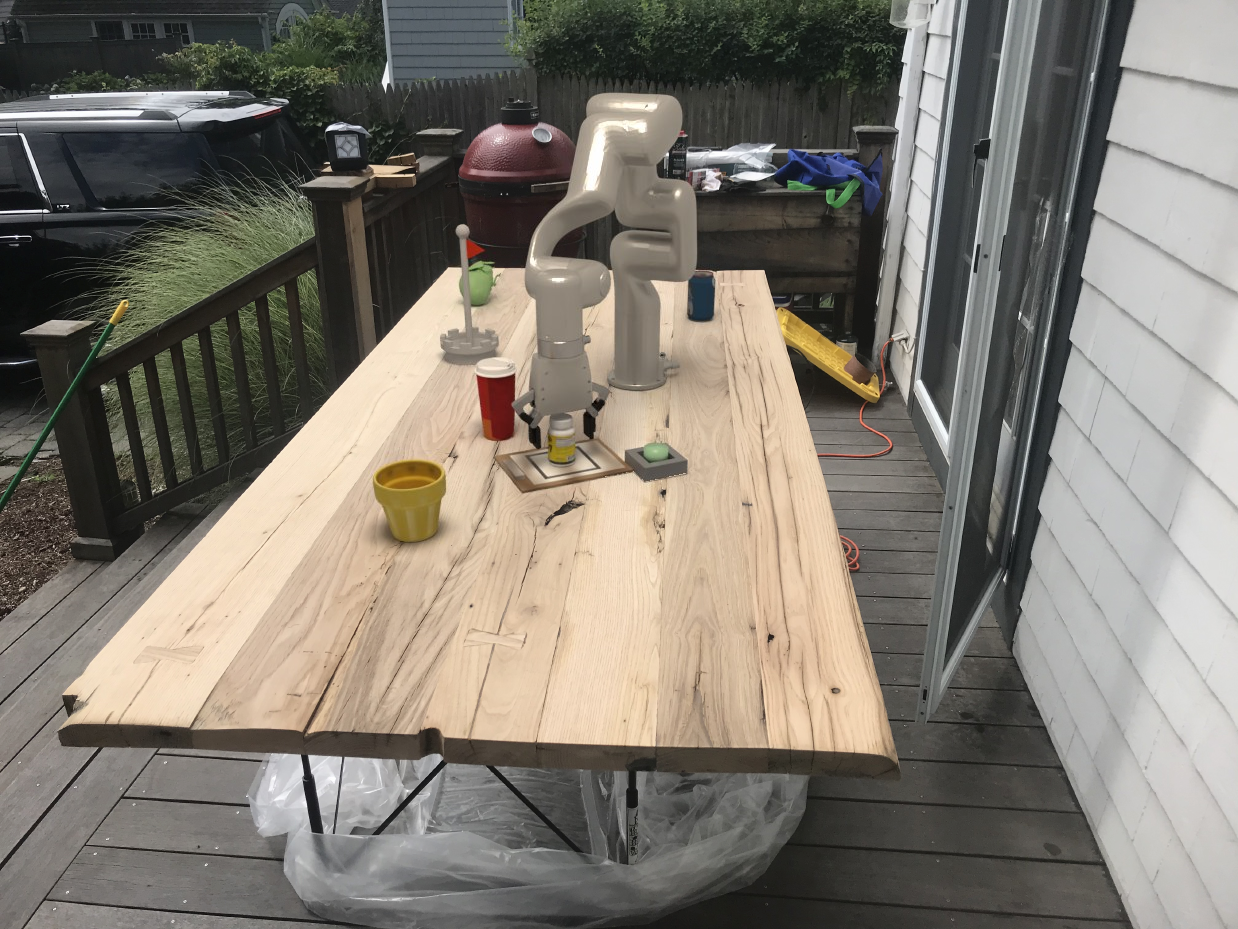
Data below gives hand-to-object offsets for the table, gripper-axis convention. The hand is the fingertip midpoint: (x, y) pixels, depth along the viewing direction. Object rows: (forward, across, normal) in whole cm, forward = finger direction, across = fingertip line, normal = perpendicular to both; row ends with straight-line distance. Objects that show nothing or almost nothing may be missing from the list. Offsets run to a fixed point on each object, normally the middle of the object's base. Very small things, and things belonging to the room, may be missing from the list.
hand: (562, 441), depth 163 cm
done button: (+3, -14, +8) cm, 16 cm away
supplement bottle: (+4, 0, 0) cm, 4 cm away
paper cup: (+5, +6, -17) cm, 18 cm away
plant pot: (+4, +29, +13) cm, 32 cm away
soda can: (+6, -65, -68) cm, 94 cm away
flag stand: (+5, -2, -62) cm, 62 cm away
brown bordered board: (+4, 0, 0) cm, 4 cm away
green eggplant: (+6, -18, -105) cm, 106 cm away
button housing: (+4, -14, +8) cm, 17 cm away
